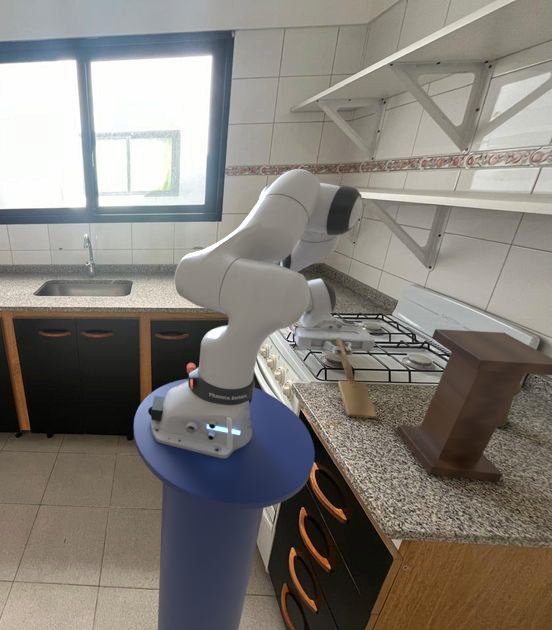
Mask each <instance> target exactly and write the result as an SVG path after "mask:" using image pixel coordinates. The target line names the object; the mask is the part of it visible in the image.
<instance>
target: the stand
mask: <svg viewBox="0 0 552 630" xmlns="http://www.w3.org/2000/svg"><path fill="white" fill-rule="evenodd" d="M431 338H432V340H434V341H436V342H437V343H438V344H440V345H441V346H443V347H444V348H445V349H447V350H448V351H450V352H451V353H450V355H449V357H448V359H447V362H446V365H445V367H444V369H443V371H442V374H441V376H440V379H439V382H438V384H437V386H436V388H435V391H434V393H433V396H432V398H431V400H430V403H429V405H428V408H427V410H426V413H425V416H424V417H423V420H422V422H421V424H420V426H417V425H406V424H398V426H397V428H396V430H395V431H396V433H397V435H398V436H399V438H401V440H402V441H403V442H404V444H405V445H406V446H407V448H408V449H409V450H410V452H412V454H413V455H414V457H415V458H416V459H417V460H418V462H419V463H420V464H421V465H422V467H423V468H424V470H425V471H426V472H427V473H428V474H429V475H433V476H441V477H452V478H460V479H461V478H462V479H469V480H479V481H488V482H489V481H491V482H500V480H501V479H502V476H503V475H504V474H503V473H502V471H500V469H498V468H497V466H496V465H494V464H493V463H492V462H491V461H490V460H489V459H488V458H487V457H486V456H485V455H484V452H485V450H486V449H487V447H488V445H489V442H490V441H491V438H492V437H493V435H494V433H495V431H496V429H497V427H498V426H497V425H498V424H499V422H500V420H501V418H502V416H503V414H504V412H505V410H506V408H507V407H508V405H509V403H510V401H511V399H512V397H513V395H514V393H515V391H516V390H517V388H518V386H519V384H521V382H522V380H523V378H524V377H525V374H527V375H540V376H541V375H542V376H552V357H550V356H549V355H547V354H545V353H543V352H542V351H540V350H538V349H536V348H534V347H532V346H530V345H528V344H526V343H525V342H522V341H521V340H519V339H517V338H515V337H514V336H511V335H509V334H508V333H506V332H501V331H483V330H482V331H480V330H462V329H461V330H460V329H459V330H458V329H442V328H441V329H440V328H439V329H438V328H435V329H434V331H433V334H432V337H431ZM513 398H514V397H513Z"/></svg>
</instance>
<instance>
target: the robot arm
mask: <svg viewBox="0 0 552 630" xmlns="http://www.w3.org/2000/svg"><path fill="white" fill-rule="evenodd" d="M362 196H363V195H362V193H360V191H359V190H358V189H357V188H355V187H352V186H349V185H345V184H342V185H336V184H332V183H324V182H320V180H319V178H318V177H317V176H316V175H315V174H314V173H313V172H311V171H309V170H306V169H302V168H295V169H290V170H288V171H286V172H284V173H282V174H281V175H280V176H279V177H278V178H276V179H275V181H273V182H270V183H269V184H268V185H266V186H265V187H264V188H263V189H262V191H261V193H260V194H259V197H258V201H256V204H255V205H254V206H253V208H252V209H251V211H250V212H249V213H248V215H247V216H246V217H245V219H244V220H243V221H242V222H241V224H240V225H239V226H238V227H237V228H236V229H235V230H233V231H232V232H231V233H229V234H228V235H226V236H225V237H224V238H222V239H221V240H218V242H215V243H214V244H212V245H210V246H208V247H206V248H204V249H200V250H197V251H194V252H190V253H187V254H186V255H185V256H183V258H181V260H180V261H179V263H178V264H177V266H176V268H175V272H174V277H173V278H174V281H173V282H174V288H175V290H176V292H177V294H178V295H179V296H180V297H182V298H183V299H185V300H187V301H188V302H190V303H192V304H194V305H195V306H197V307H201V308H204V309H206V310H211V311H214V312H217V313H220V314H223V315H225V316H227V319H228V321H227V325H221V326H218V327H215V328H213V329H210V330H209V331H207V332H206V334H205V335H204V336H203V338H202V340H201V342H200V352H199V362H198V363H199V365H198V366H197V367H196V364H195V363H193V362H189V363H188V364H187V365H186V373H187V374H188V378H187V379H188V381H187V382H185V383H182V384H180V385H178V386H176V387H173V388H171V389H170V390H169V391H168V392H167V394H166V396H165V397H159V396H154V401H153V405H152V407H150V408H149V409H148V413H149V414H150V415H151V420H152V421H151V430H152V434H153V436H154V438H155V440H156V441H157V442H159V443H162V444H166V445H170V446H174V447H178V448H182V449H186V450H190V451H194V452H198V453H202V454H206V455H210V456H214V457H218V458H222V459H225V458H228V457H229V456H230V455H231V454H232V452H233V451H235V450H236V449H239V448H241V447H243V446H245V445H246V444H247V443H248V442H249V441H250V440H251V438H252V427H251V421H250V403H251V401H252V397H253V393H254V388H256V387H255V385H256V384H255V383H256V382H255V380H256V379H255V377H254V375H255V374H254V373H255V367H256V363H257V359H258V354H259V351H260V350H261V347H262V345H263V344H264V342H265V341H266V340H267V339H268V338H269V337H270V336H271V335H272V334H275V333H276V332H277V331H280V330H284V329H286V328H289V327H291V326H293V325H294V324H296V323H297V322H300V324H301V326H298V327H294V328H291V329H290V333H291V335H293V336H294V341H295V344H296V346H297V347H299V348H304V349H320V350H321V349H323V350H327V351H328V352H331V353H332V354H333V355H340V351H341V349H340V348H339V346H337V344H336V341H335V339H336V338H338V337H339V338H341V339H342V341H343V345H344V348H345V351H346V354H347V356H352V355H353V351H357V352H358V351H359V352H371V351H372V350H373V349H374V346H375V343H376V340H375V338H374V337H373V336H372V335H371V334H370V333H369V332H368V331H367V330H365V329H364V328H362V327H360V324H359V323H358V322H356V321H351V320H346V319H342V318H339V317H336V316H333V315H332V313H333V312H334V310H335V308H336V305H337V296H336V292H335V290H334V287H333V286H332V285H331V283H329V282H328V281H327V280H325V279H324V278H321V277H319V278H315V279H314V278H313V279H310V280H307V279H306V277H305V276H304V274H303V273H300V271H301V270H303V269H305V268H307V267H309V266H311V265H313V264H315V263H318V262H320V261H322V260H324V259H326V258H328V257H329V256H331V255H332V254H333V253H334V252H335V250H336V249H337V247H338V246H339V244H340V239H341V235H344V234H347V232H350V231H351V230H352V229H353V227H354V226H355V224H356V223H357V222H358V220H359V219H360V217H361V213H362V209H363V202H362V199H363V198H362ZM151 411H152V412H151Z"/></svg>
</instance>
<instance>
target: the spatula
mask: <svg viewBox="0 0 552 630" xmlns="http://www.w3.org/2000/svg"><path fill="white" fill-rule="evenodd" d="M335 341H336V344H337V346H339V348H340V349H341V351H340V354H339V357H340V361H341V364H342V367H343V371H344V374H345V377H346V380H339V381H338V382H337V384H338V389H339V392H340V395H341V399H342V403H343V406H344V409H345V413H346V416H347V417H355V418H367V419H375V418H376V417H377V414H376V412H375V408H374V405H373V401H372V399H371V396H370V394H369V391H368V387H367V384H366V382H365V381H356V379H355V376H354V374H353V370H352V367H351V363H350V360H349V357H348V355H347V354H346V351H345V348H344V345H343V341H342V339H341V338H339V337H338V338H336V339H335Z"/></svg>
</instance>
